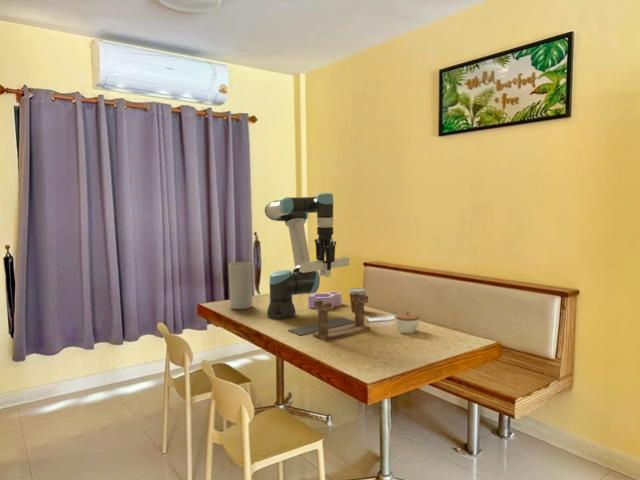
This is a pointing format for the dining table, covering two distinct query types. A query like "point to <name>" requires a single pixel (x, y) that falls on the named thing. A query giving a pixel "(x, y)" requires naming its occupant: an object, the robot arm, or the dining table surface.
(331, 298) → the lilac boxy piece
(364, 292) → the disposable coffee cup
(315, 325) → the rubber mat
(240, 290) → the cylinder vase
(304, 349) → the dining table surface
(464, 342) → the dining table surface
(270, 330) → the dining table surface
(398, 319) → the lidded jar
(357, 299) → the hook rack
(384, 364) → the dining table surface
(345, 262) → the steel rail
